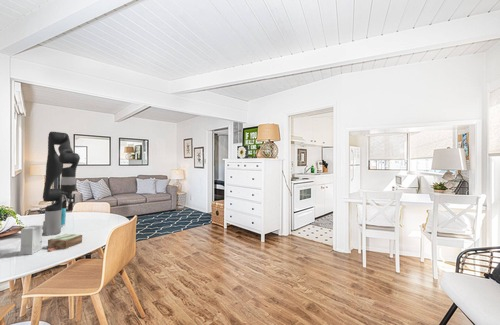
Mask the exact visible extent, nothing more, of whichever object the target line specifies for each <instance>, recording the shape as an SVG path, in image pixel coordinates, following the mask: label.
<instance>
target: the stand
mask: <svg viewBox="0 0 500 325" xmlns="http://www.w3.org/2000/svg"><path fill="white" fill-rule="evenodd" d="M82 243H83V234H74V233H73V234H71V233H65V234H61V235H58V236H55V237H53V238H50V239H47V249H51V248H53V247H58V248H57V249H56V250H58V249H59V250H68V249H70V248H72V247H75V246H77V245H79V244H82ZM69 247H70V248H69Z"/></svg>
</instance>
